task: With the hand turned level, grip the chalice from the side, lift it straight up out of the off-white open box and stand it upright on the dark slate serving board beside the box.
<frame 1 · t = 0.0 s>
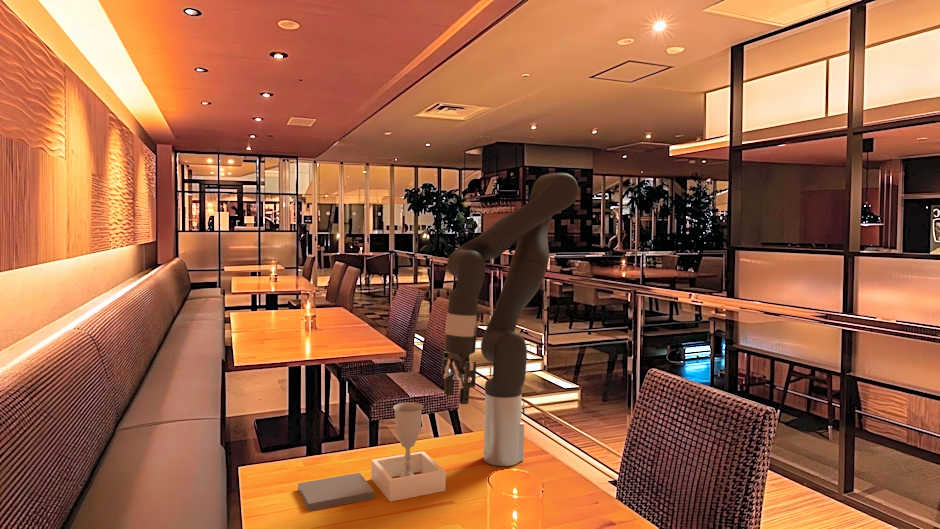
hand: (455, 399, 147), 17 cm above the table, tool pointing down, fingers open, 8 cm apart
open box: (407, 484, 138), on the table
slate board: (335, 494, 133), on the table
chalice: (407, 485, 138), resting in open box
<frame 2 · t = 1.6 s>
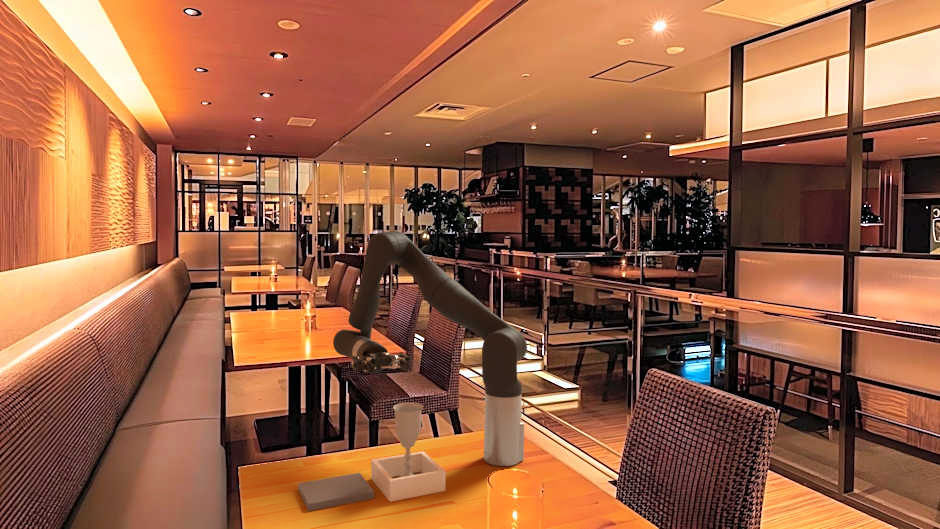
hand: (390, 368, 147), 24 cm above the table, tool horizontal, fingers open, 8 cm apart
nothing on the table moved.
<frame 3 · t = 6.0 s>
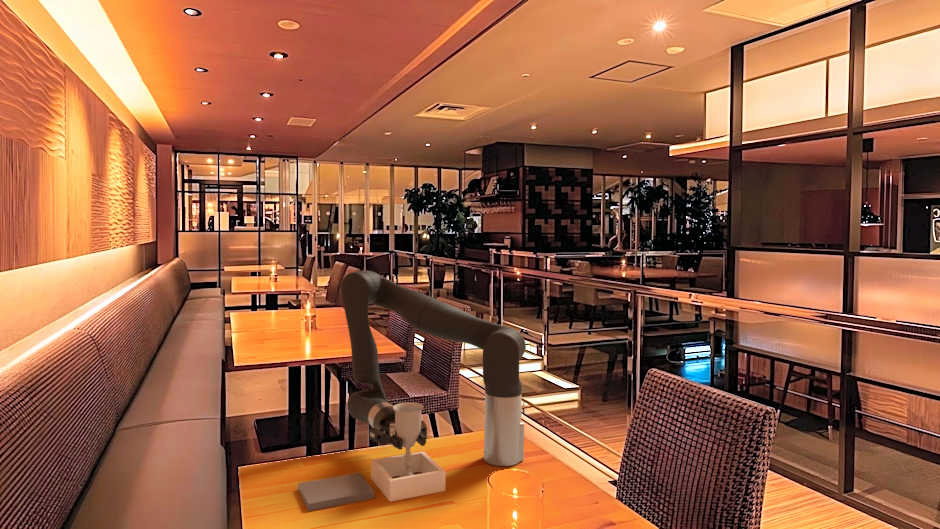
hand: (412, 443, 135), 11 cm above the table, tool horizontal, fingers closed on chalice, 4 cm apart
chalice: (407, 485, 138), resting in open box, touching gripper
when the fingers open (13 cm above the table, at t = 10.7 s): chalice moves 2 cm, resting on slate board.
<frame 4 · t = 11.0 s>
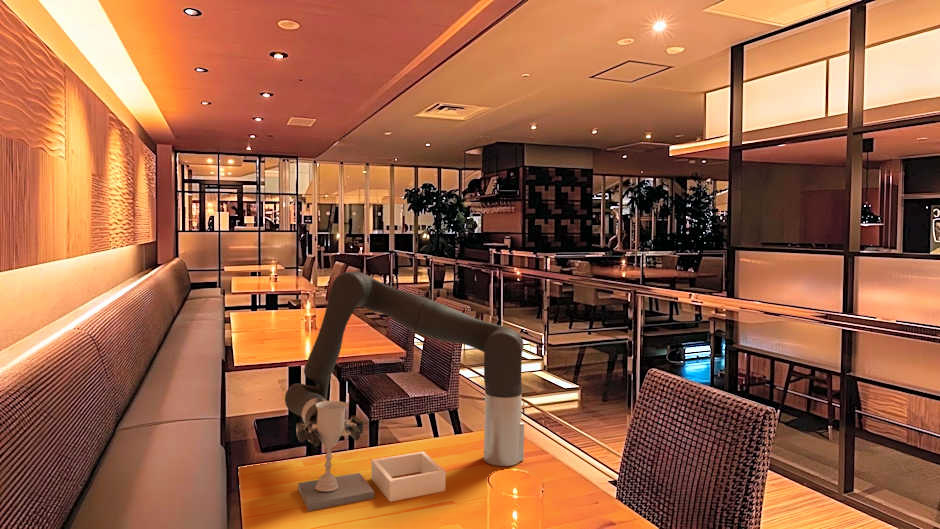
hand: (337, 438, 130), 13 cm above the table, tool horizontal, fingers open, 8 cm apart
chalice: (326, 487, 132), point 1 cm above the table, touching gripper, slate board
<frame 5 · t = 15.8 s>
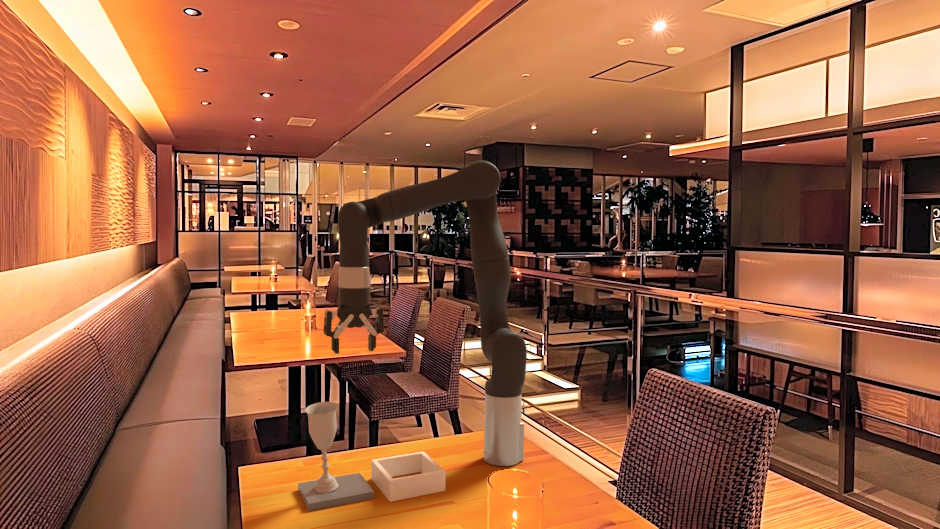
hand: (354, 351, 147), 28 cm above the table, tool pointing down, fingers open, 8 cm apart
chalice: (326, 487, 132), point 2 cm above the table, touching slate board
at the end: chalice inside the target area on the slate board (1.9 cm from its centre), point 1.5 cm above the slate board's base; chalice tilted 3°; the gripper is holding nothing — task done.
